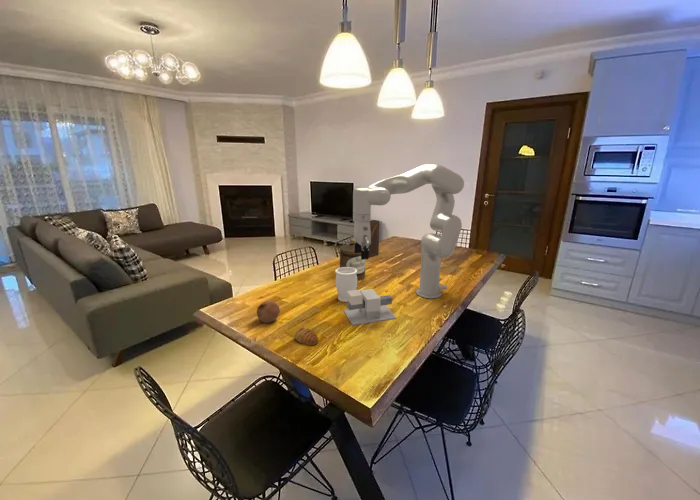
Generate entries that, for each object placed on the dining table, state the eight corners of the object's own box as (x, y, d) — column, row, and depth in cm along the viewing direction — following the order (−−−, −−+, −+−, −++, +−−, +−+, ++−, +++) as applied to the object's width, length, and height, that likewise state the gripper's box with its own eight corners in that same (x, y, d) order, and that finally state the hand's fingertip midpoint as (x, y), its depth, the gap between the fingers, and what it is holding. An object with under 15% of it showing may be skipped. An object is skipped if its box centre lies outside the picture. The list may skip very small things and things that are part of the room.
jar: (338, 304, 146) (338, 275, 141) (333, 295, 155) (333, 267, 151) (359, 301, 148) (360, 272, 144) (353, 293, 158) (354, 265, 154)
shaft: (389, 301, 139) (389, 295, 138) (391, 304, 136) (392, 297, 135) (347, 307, 133) (347, 300, 132) (349, 310, 130) (349, 303, 129)
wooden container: (350, 283, 171) (350, 245, 165) (334, 275, 182) (334, 240, 176) (370, 277, 180) (370, 241, 174) (353, 270, 191) (354, 236, 185)
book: (372, 252, 228) (373, 219, 221) (380, 255, 222) (381, 221, 214) (349, 258, 214) (349, 223, 207) (357, 261, 208) (358, 225, 201)
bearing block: (384, 305, 145) (385, 285, 142) (396, 318, 133) (397, 297, 130) (343, 311, 139) (343, 291, 136) (352, 325, 127) (352, 303, 124)
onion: (263, 331, 128) (252, 316, 123) (262, 315, 136) (252, 300, 130) (284, 322, 129) (274, 306, 123) (282, 307, 137) (272, 291, 131)
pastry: (322, 340, 117) (322, 331, 116) (310, 349, 112) (309, 340, 110) (305, 332, 122) (304, 324, 121) (292, 340, 117) (292, 331, 116)
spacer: (357, 297, 135) (357, 289, 134) (362, 303, 130) (362, 295, 128) (347, 299, 134) (347, 290, 133) (351, 305, 128) (351, 296, 127)
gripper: (377, 220, 123) (376, 261, 128) (363, 213, 139) (363, 249, 144) (359, 221, 121) (359, 262, 126) (347, 214, 137) (347, 251, 142)
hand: (361, 255), depth 135 cm, fingers open, 9 cm apart
